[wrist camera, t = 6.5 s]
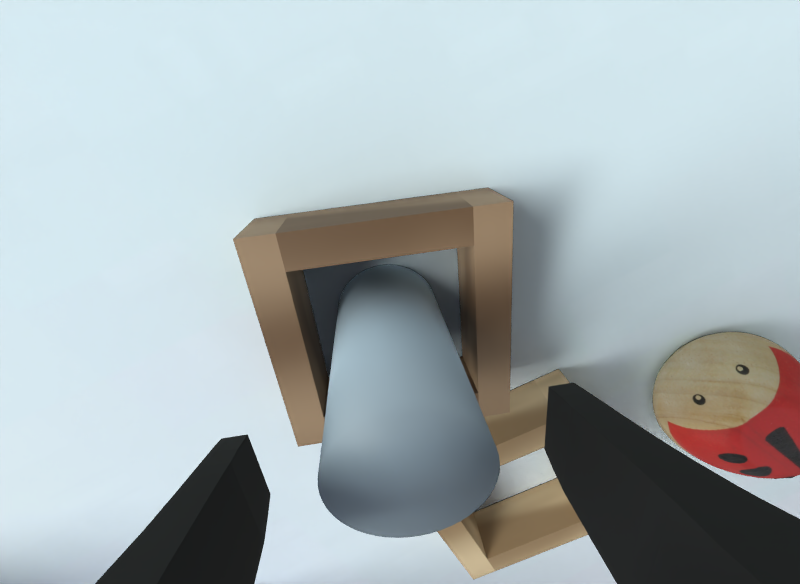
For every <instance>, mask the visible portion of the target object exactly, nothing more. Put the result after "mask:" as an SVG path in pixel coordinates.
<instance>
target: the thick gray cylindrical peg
mask: <svg viewBox="0 0 800 584" xmlns="http://www.w3.org/2000/svg"><path fill="white" fill-rule="evenodd" d="M499 470H500V460H499V454H498V451H497V447H496V445H495V443H494V440H493V438H492V435H491V433H490V430H489V428H488V426H487V423H486V421H485V418H484V416H483V413H482V411H481V408H480V406H479V404H478V401H477V399H476V396H475V394H474V391H473V389H472V387H471V384H470V382H469V379H468V377H467V374H466V372H465V369H464V367H463V365H462V362H461V360H460V357H459V355H458V352H457V350H456V348H455V345H454V343H453V340H452V338H451V335H450V333H449V331H448V328H447V326H446V323H445V321H444V318H443V316H442V313H441V311H440V309H439V306H438V304H437V301H436V299H435V296H434V294H433V292H432V290H431V288H430V286H429V284H428V283H427V282H426V281H425V280H424V278H423V277H421V276H420V275H419V274H418V273H416V272H414V271H413V270H411V269H408V268H406V267H402V266H398V265H379V266H375V267H371V268H369V269H366V270H364V271H362V272H360V273H359V274H357V275H356V276H355V277H354V278H353V279H351V280H350V282H349V283H348V284H347V285H346V287H345V288H344V290H343V292H342V294H341V297H340V300H339V306H338V314H337V322H336V330H335V339H334V347H333V355H332V364H331V372H330V380H329V389H328V397H327V405H326V414H325V422H324V430H323V438H322V447H321V455H320V463H319V472H318V489H319V493H320V496H321V499H322V501H323V503H324V504H325V506H326V508H327V509H328V510H329V511H330V512H331V514H332V515H333V516H334V517H336V518H337V519H338V520H339V521H341V522H342V523H344V524H345V525H347V526H349V527H351V528H353V529H355V530H357V531H360V532H363V533H366V534H371V535H375V536H382V537H395V538H401V537H413V536H421V535H425V534H430V533H433V532H436V531H440V530H442V529H445V528H447V527H450V526H452V525H454V524H456V523H458V522H460V521H462V520H463V519H465V518H466V517H468V516H469V515H471V514H472V513H473V512H474V511H476V510H477V509H478V508H479V507H480V506H481V505H482V504H483V503H484V502H485V501H486V499H487V498H488V497H489V496H490V494H491V492H492V491H493V489H494V487H495V485H496V482H497V480H498V476H499Z"/></svg>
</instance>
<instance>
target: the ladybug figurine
mask: <svg viewBox="0 0 800 584" xmlns="http://www.w3.org/2000/svg"><path fill="white" fill-rule="evenodd" d="M653 408H654V413H655V416H656V419H657V421H658V423H659V425H660V426H661V428H662V429H663V431H664V432H665V433H666V434H667V435H668V437H669V438H670V439H671V440H672V441H673V442H674V443H676V444H677V445H678V446H679V447H680V448H682V449H683V450H685V451H686V452H688V453H689V454H691V455H693V456H695V457H696V458H698V459H700V460H702V461H704V462H706V463H708V464H710V465H712V466H714V467H717V468H720V469H723V470H726V471H729V472H732V473H736V474H740V475H745V476H751V477H757V478H774V479H778V478H793V477H795V476H797V475H800V363H799V362H798V361H797V360H796V359H795V358H794V357H793V356H792V355H791V354H790V353H788V352H787V351H786V350H784V349H783V348H782V347H780V346H779V345H777V344H775V343H774V342H772V341H770V340H767V339H765V338H763V337H760V336H756V335H753V334H748V333H742V332H723V333H716V334H711V335H707V336H704V337H701V338H698V339H696V340H693V341H691V342H689V343H688V344H686V345H684V346H682V347H681V348H680V349H678V350H677V351H676V352H675V353H674V354H673V355H672V356H671V357H669V359H668V360H667V361H666V362H665V363H664V365H663V366H662V368H661V369H660V371H659V373H658V375H657V378H656V381H655V385H654V389H653Z"/></svg>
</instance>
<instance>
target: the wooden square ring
mask: <svg viewBox="0 0 800 584" xmlns="http://www.w3.org/2000/svg"><path fill="white" fill-rule="evenodd" d="M233 241H234V244H235V247H236V250H237V253H238V257H239V260H240V263H241V266H242V269H243V273H244V276H245V279H246V282H247V285H248V288H249V292H250V295H251V298H252V301H253V304H254V308H255V311H256V314H257V317H258V320H259V323H260V327H261V330H262V333H263V336H264V339H265V343H266V346H267V349H268V352H269V355H270V359H271V362H272V365H273V368H274V371H275V374H276V378H277V381H278V384H279V387H280V390H281V394H282V397H283V400H284V403H285V406H286V410H287V413H288V416H289V419H290V422H291V425H292V429H293V432H294V435H295V438H296V441H297V445H298V446H304V445H311V444H317V443H322V438H323V430H324V422H325V414H326V405H327V397H328V389H329V380H330V376H329V377H328V373H327V369H326V364H325V360H324V356H323V352H322V348H321V344H320V339H319V335H318V331H317V327H316V323H315V319H314V314H313V310H312V306H311V302H310V298H309V294H308V289H307V285H306V281H305V277H304V273H303V270H304V269H311V268H318V267H325V266H333V265H340V264H347V263H354V262H361V261H368V260H375V259H383V258H390V257H397V256H404V255H411V254H418V253H426V252H433V251H440V250H447V249H454V248H457V256H458V277H459V297H460V318H461V338H462V356H461V357H460V360H461V362H462V365H463V367H464V369H465V372H466V374H467V377H468V379H469V382H470V384H471V387H472V389H473V391H474V394H475V396H476V399H477V401H478V404H479V406H480V408H481V411H482V413H483V416H484V417H486V416H492V415H499V414H505V413H510V362H511V305H512V248H513V201H512V200H510V199H508V198H506V197H505V196H503V195H501V194H499V193H497V192H495V191H493V190H492V189H490V188H481V189H474V190H466V191H459V192H451V193H444V194H436V195H429V196H421V197H414V198H406V199H399V200H391V201H384V202H376V203H369V204H361V205H354V206H346V207H339V208H331V209H324V210H316V211H309V212H301V213H294V214H286V215H279V216H271V217H264V218H256V219H254V220H252V221H251V222H250V223H249V224H248V225H247V226H246V227H245V228H244V229H243V230H242V231H241V232H240V233H239V234H238V235H237V236H236V237H235V238H234V239H233Z"/></svg>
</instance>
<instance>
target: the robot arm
mask: <svg viewBox="0 0 800 584" xmlns="http://www.w3.org/2000/svg"><path fill="white" fill-rule="evenodd" d="M544 449H545V451H546V453H547V456H548V458H549V460H550V463H551V465H552V467H553V470H554V472H555V474H556V476H557V479H558V481H559V483H560V485H561V487H562V489H563V491H564V493H565V495H566V497H567V498H568V500H569V502H570V504H571V505H572V507H573V509H574V511H575V512H576V514H577V516H578V518H579V519H580V521H581V523H582V525H583V526H584V528H585V530H586V531H587V533H588V535H589V536H590V538H591V540H592V542H593V543H594V545H595V547H596V548H597V550H598V552H599V554H600V555H601V557H602V559H603V560H604V562H605V564H606V565H607V567H608V569H609V571H610V572H611V574H612V576H613V577H614V579H615V581H616V583H617V584H800V519H799V518H797V517H795V516H793V515H791V514H789V513H787V512H785V511H783V510H781V509H779V508H778V507H776V506H774V505H772V504H770V503H768V502H766V501H764V500H762V499H760V498H758V497H757V496H755V495H753V494H751V493H749V492H748V491H746V490H744V489H742V488H740V487H738V486H737V485H735V484H733V483H731V482H730V481H728V480H726V479H725V478H723V477H721V476H719V475H718V474H716V473H714V472H713V471H711V470H709V469H707V468H706V467H704V466H702V465H701V464H699V463H697V462H696V461H694V460H692V459H691V458H689V457H687V456H686V455H684V454H682V453H681V452H679V451H678V450H676V449H674V448H673V447H671V446H669V445H668V444H666V443H665V442H663V441H662V440H660V439H658V438H657V437H655V436H654V435H652V434H651V433H649V432H647V431H646V430H644V429H643V428H641V427H640V426H638V425H637V424H635V423H634V422H632V421H631V420H629V419H628V418H626V417H625V416H623V415H622V414H620V413H619V412H617V411H616V410H614V409H613V408H611V407H610V406H608V405H607V404H605V403H604V402H602V401H601V400H599V399H598V398H596V397H595V396H593V395H592V394H590V393H589V392H587V391H586V390H584V389H583V388H581V387H579V386H578V385H576V384H575V383H567V384H561V385H555V386H549V388H548V403H547V417H546V432H545V446H544ZM269 501H270V492H269V489H268V487H267V484H266V482H265V479H264V476H263V474H262V471H261V468H260V466H259V463H258V461H257V458H256V455H255V453H254V450H253V447H252V445H251V442H250V440H249V437H248V435H242V436H235V437H229V438H223V439H221V440H220V441H219V442H218V443H217V444H216V445H215V446H214V448H213V449H212V450H211V451H210V452H209V454H208V455H207V456H206V457H205V458H204V460H203V461H202V462H201V463H200V464H199V466H198V467H197V468H196V469H195V470H194V472H193V473H192V474H191V475H190V476H189V478H188V479H187V480H186V481H185V482H184V484H183V485H182V486H181V487H180V488H179V490H178V491H177V492H176V493H175V494H174V495H173V497H172V498H171V499H170V500H169V501H168V503H167V504H166V505H165V506H164V507H163V508H162V510H161V511H160V512H159V513H158V514H157V515H156V517H155V518H154V519H153V520H152V521H151V522H150V524H149V525H148V526H147V527H146V528H145V529H144V531H143V532H142V533H141V534H140V535H139V536H138V537H137V538H136V539H135V541H134V542H133V543H132V544H131V545H130V546H129V547H128V548H127V549H126V550H125V551H124V553H123V554H122V555H121V556H120V557H119V558H118V559H117V560H116V561H115V562H114V564H113V565H112V566H111V567H110V568H109V569H108V570H107V571H106V572H105V573H104V575H103V576H102V577H101V578H100V579H99V580H98V581H97V582H96V583H95V584H254V582H255V578H256V574H257V570H258V566H259V562H260V557H261V553H262V549H263V545H264V539H265V532H266V525H267V518H268V510H269Z"/></svg>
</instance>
